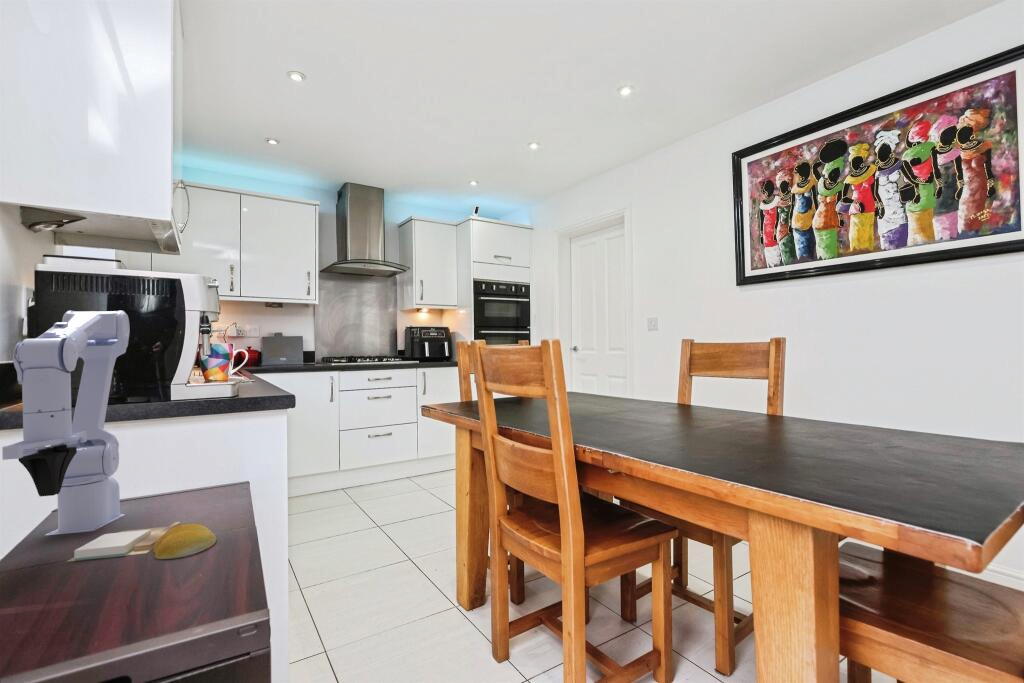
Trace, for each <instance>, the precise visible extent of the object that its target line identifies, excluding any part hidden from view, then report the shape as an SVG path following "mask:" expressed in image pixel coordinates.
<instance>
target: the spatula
mask: <svg viewBox="0 0 1024 683" xmlns="http://www.w3.org/2000/svg"><path fill="white" fill-rule="evenodd" d="M180 525H182V522H181V521H177V522H176V521H175V522H173V523H172V524H170V525H169V526H166V527H167V528H165V529H164V530H162V531H161V532H156V533H154V534H152V535H150V536H149V537H147V538H146V539H144V540H143V541H141V542H139V543H138V544H136V545H135V546H134V551H141V550H150V549H152V548H153V549H154V545H155V543H156V541H157V540H158V539H159V538H160V537H161V536H162V535H163V534H164V533H166V532H167V531H169V530H170V529H172V528H174V527H177V526H180ZM153 549H152V550H153ZM150 551H151V550H150Z"/></svg>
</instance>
